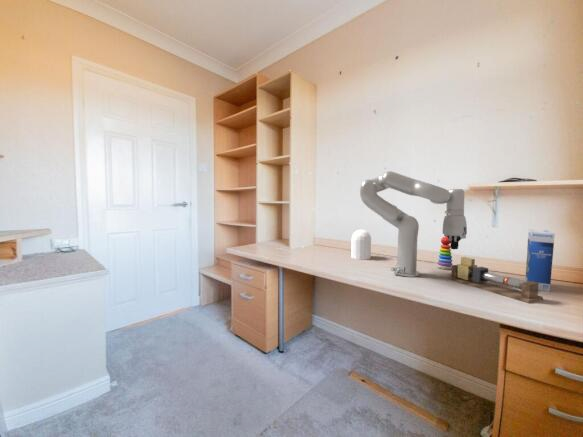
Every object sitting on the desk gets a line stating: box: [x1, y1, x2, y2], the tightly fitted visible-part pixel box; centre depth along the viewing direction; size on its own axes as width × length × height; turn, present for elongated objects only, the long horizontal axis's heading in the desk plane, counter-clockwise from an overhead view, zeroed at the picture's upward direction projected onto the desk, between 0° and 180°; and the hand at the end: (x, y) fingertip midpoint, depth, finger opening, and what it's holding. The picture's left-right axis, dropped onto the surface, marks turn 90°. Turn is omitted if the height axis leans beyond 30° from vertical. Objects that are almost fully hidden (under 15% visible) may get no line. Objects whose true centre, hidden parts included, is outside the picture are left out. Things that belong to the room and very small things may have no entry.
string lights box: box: [524, 229, 556, 293], centre depth 114 cm, size 13×8×26 cm, turn 141°
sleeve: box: [457, 256, 478, 280], centre depth 122 cm, size 5×7×10 cm
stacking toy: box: [436, 236, 453, 271], centre depth 146 cm, size 8×8×19 cm
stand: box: [446, 264, 544, 304], centre depth 113 cm, size 33×10×7 cm, turn 22°
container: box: [350, 229, 372, 261], centre depth 174 cm, size 14×13×20 cm
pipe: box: [469, 268, 526, 291], centre depth 113 cm, size 30×4×4 cm, turn 22°
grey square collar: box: [472, 266, 489, 283], centre depth 117 cm, size 3×6×6 cm, turn 112°
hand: (454, 248), depth 128 cm, fingers closed
